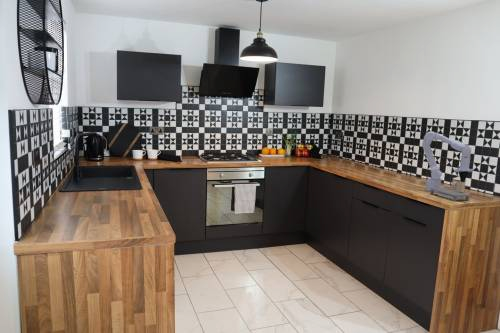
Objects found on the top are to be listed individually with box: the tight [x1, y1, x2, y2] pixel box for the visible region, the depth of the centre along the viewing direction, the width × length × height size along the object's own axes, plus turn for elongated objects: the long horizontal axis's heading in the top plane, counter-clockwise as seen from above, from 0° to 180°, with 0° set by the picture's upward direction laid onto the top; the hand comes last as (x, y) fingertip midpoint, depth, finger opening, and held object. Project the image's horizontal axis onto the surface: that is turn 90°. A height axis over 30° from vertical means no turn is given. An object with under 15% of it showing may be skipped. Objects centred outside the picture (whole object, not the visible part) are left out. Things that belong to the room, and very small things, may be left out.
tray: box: [436, 192, 466, 201], centre depth 266 cm, size 12×15×2 cm
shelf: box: [429, 187, 471, 203], centre depth 265 cm, size 12×22×4 cm, turn 17°
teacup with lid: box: [450, 175, 467, 193], centre depth 290 cm, size 12×9×12 cm
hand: (462, 181), depth 276 cm, fingers closed
